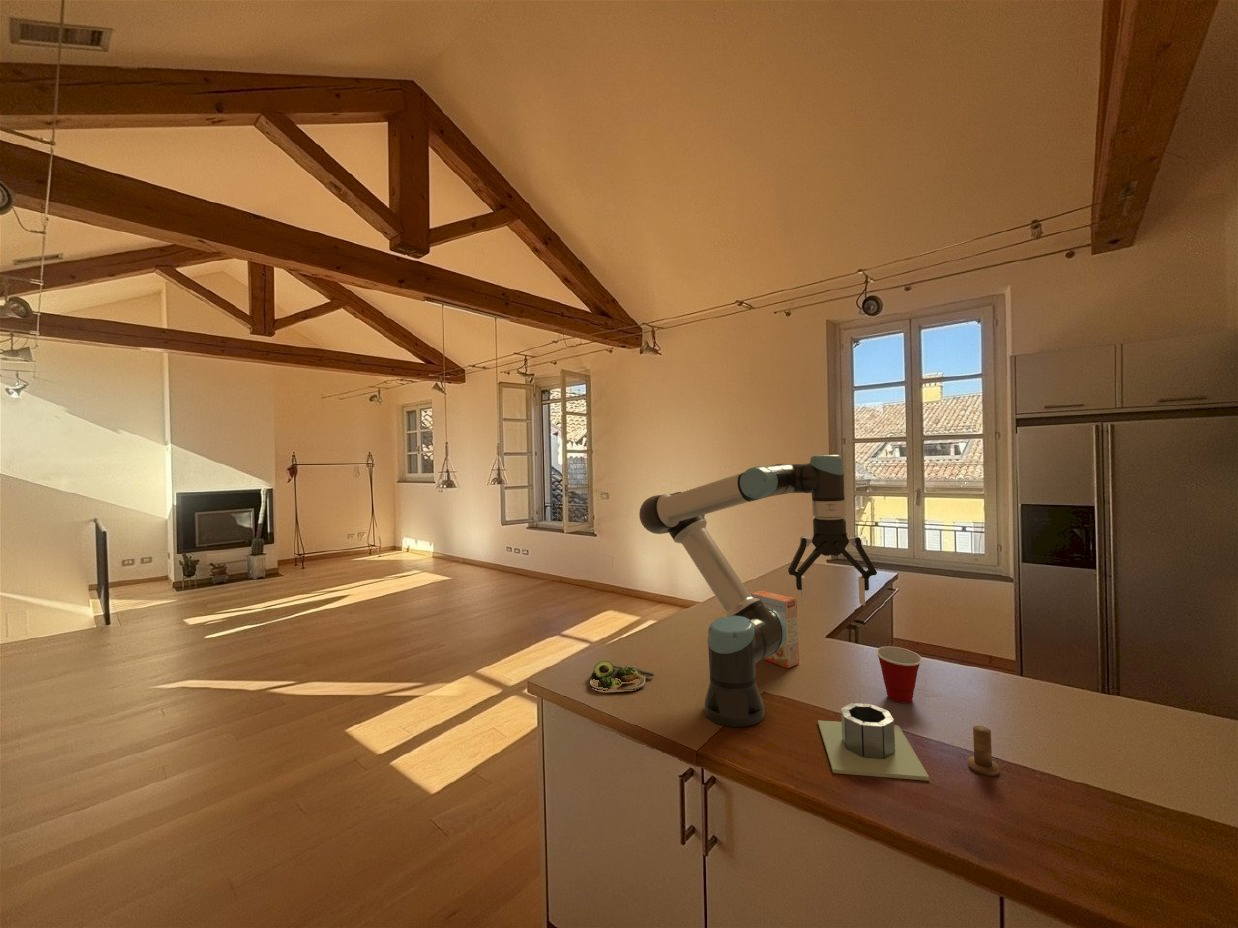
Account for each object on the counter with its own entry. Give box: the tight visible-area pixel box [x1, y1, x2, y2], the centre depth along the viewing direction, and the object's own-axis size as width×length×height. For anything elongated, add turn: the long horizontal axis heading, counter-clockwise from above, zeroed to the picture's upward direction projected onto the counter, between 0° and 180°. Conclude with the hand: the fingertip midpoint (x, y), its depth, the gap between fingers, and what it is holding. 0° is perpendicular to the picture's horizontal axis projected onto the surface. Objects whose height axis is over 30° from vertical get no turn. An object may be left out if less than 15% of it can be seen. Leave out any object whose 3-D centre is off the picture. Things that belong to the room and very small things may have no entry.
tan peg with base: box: [967, 725, 1000, 777], centre depth 107 cm, size 5×5×8 cm
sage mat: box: [817, 720, 930, 782], centre depth 115 cm, size 18×20×1 cm
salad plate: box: [588, 660, 655, 691], centre depth 157 cm, size 19×18×5 cm
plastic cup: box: [875, 646, 923, 704], centre depth 137 cm, size 11×11×12 cm
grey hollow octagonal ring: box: [840, 702, 895, 759], centre depth 115 cm, size 10×10×7 cm
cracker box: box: [750, 590, 800, 669], centre depth 166 cm, size 14×6×21 cm, turn 33°
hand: (832, 603), depth 128 cm, fingers open, 13 cm apart
